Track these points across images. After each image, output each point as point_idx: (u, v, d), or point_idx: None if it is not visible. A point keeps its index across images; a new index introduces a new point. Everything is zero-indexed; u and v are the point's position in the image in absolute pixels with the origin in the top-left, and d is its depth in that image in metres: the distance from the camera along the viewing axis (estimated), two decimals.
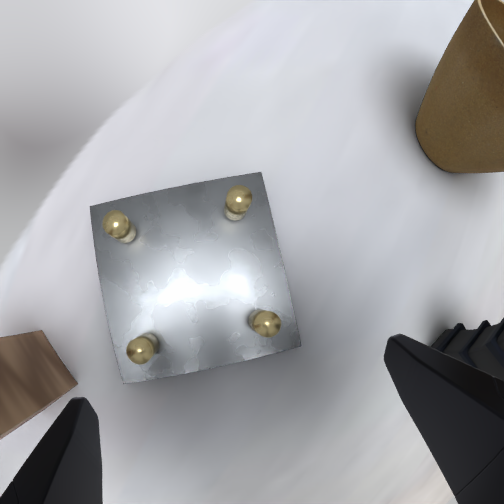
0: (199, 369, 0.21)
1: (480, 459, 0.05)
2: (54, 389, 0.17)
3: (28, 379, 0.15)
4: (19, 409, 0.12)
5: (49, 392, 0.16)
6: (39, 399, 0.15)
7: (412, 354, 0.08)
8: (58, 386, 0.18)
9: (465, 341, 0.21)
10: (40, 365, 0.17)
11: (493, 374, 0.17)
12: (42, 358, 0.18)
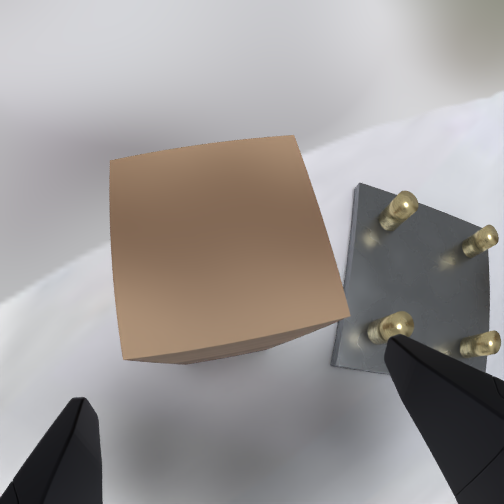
0: None
1: (480, 459, 0.05)
2: None
3: None
4: None
5: None
6: None
7: (412, 354, 0.08)
8: None
9: None
10: None
11: None
12: None
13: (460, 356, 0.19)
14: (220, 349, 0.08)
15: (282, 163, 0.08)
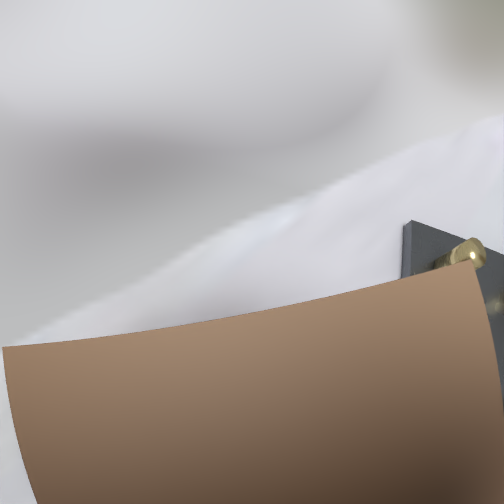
0: None
1: None
2: None
3: None
4: None
5: None
6: None
7: None
8: None
9: None
10: None
11: None
12: None
13: None
14: None
15: (459, 352, 0.03)
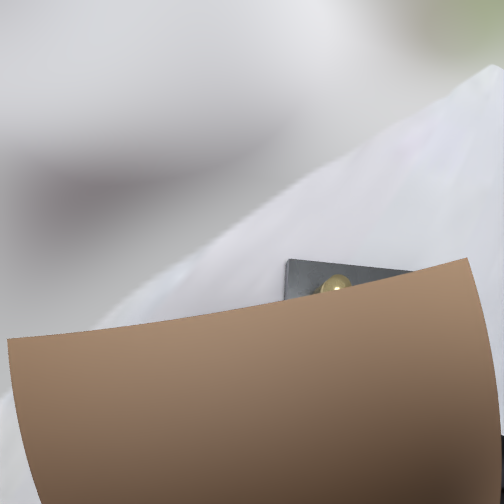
0: None
1: None
2: None
3: None
4: None
5: None
6: None
7: None
8: None
9: None
10: None
11: None
12: None
13: None
14: None
15: (453, 349, 0.03)
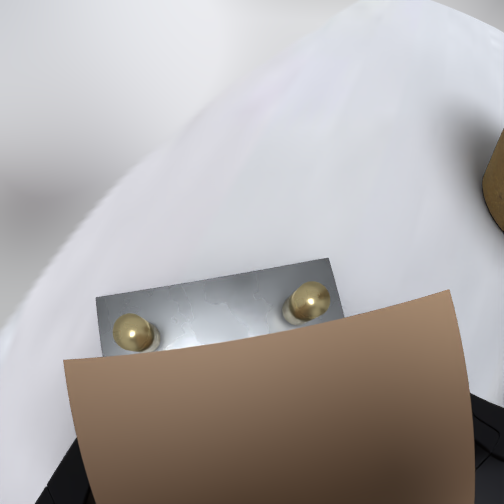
0: None
1: None
2: None
3: None
4: None
5: None
6: None
7: None
8: None
9: None
10: None
11: None
12: None
13: None
14: None
15: (434, 364, 0.04)
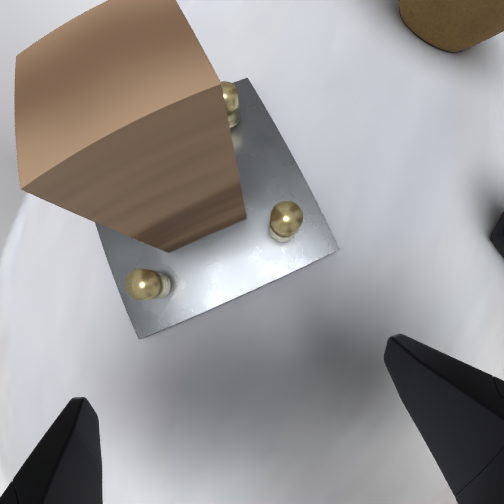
0: (222, 301, 0.18)
1: (480, 459, 0.05)
2: None
3: None
4: None
5: None
6: None
7: (412, 354, 0.08)
8: None
9: None
10: None
11: None
12: None
13: (278, 243, 0.19)
14: (124, 172, 0.08)
15: None
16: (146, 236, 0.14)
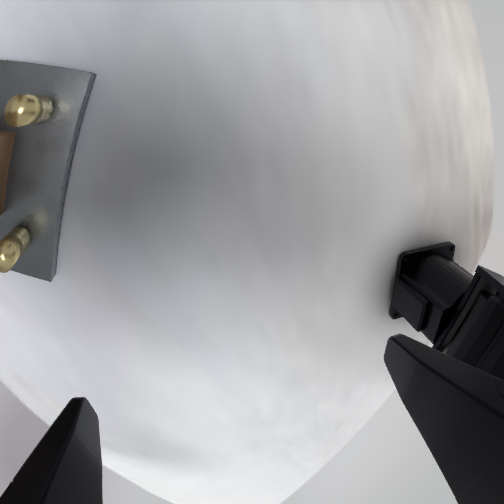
0: (58, 198, 0.16)
1: (480, 459, 0.05)
2: None
3: None
4: None
5: None
6: None
7: (412, 354, 0.08)
8: None
9: None
10: None
11: None
12: None
13: (48, 121, 0.14)
14: None
15: None
16: None
